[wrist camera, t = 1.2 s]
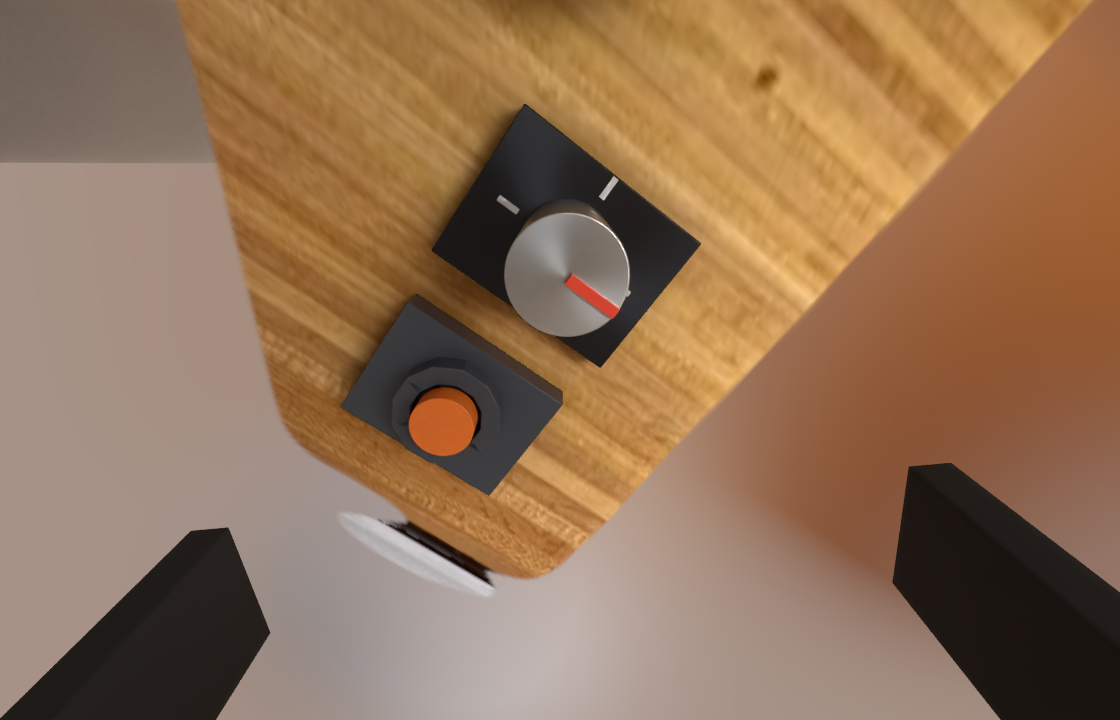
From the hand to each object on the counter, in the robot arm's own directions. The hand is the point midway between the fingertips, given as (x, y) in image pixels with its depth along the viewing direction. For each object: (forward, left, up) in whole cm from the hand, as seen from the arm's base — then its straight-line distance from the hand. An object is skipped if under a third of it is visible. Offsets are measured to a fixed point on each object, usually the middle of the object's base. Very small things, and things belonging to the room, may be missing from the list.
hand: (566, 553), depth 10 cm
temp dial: (-1, +2, -24) cm, 24 cm away
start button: (-1, -11, -22) cm, 25 cm away
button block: (-1, -11, -26) cm, 28 cm away
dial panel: (-1, +2, -26) cm, 26 cm away
